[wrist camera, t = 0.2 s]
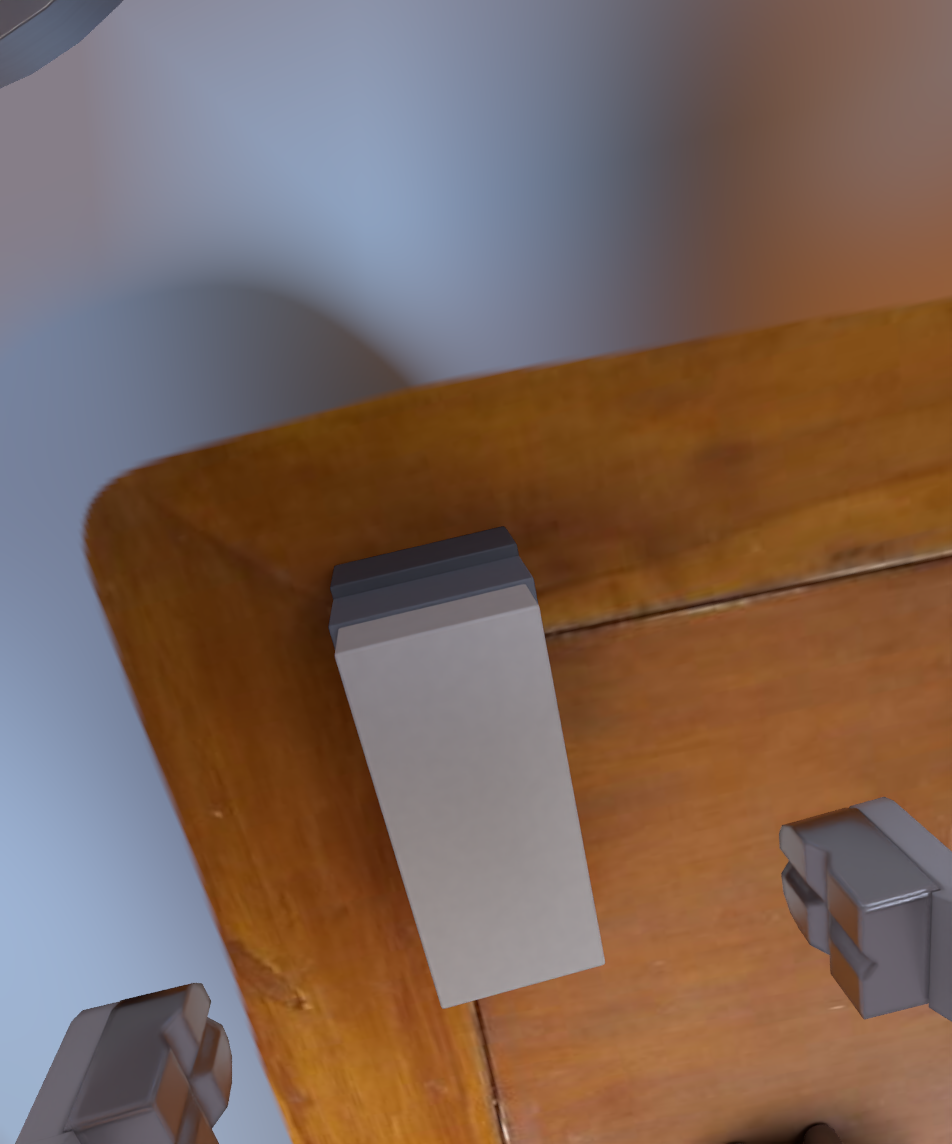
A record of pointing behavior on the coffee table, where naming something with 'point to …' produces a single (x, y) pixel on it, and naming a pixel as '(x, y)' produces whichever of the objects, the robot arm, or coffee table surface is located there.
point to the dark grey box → (425, 577)
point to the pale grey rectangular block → (475, 789)
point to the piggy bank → (820, 1135)
